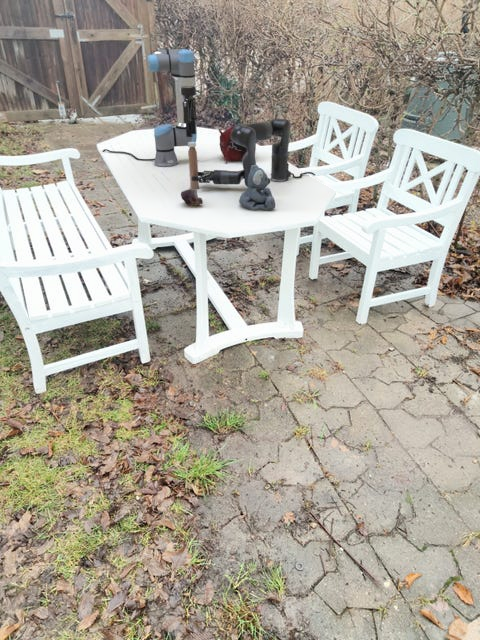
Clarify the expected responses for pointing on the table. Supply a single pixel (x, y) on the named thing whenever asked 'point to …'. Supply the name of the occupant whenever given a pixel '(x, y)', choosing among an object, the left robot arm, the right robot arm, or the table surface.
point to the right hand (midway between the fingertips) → (193, 176)
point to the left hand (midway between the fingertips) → (191, 135)
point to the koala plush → (257, 191)
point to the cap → (191, 144)
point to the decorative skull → (230, 146)
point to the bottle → (193, 167)
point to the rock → (191, 197)
